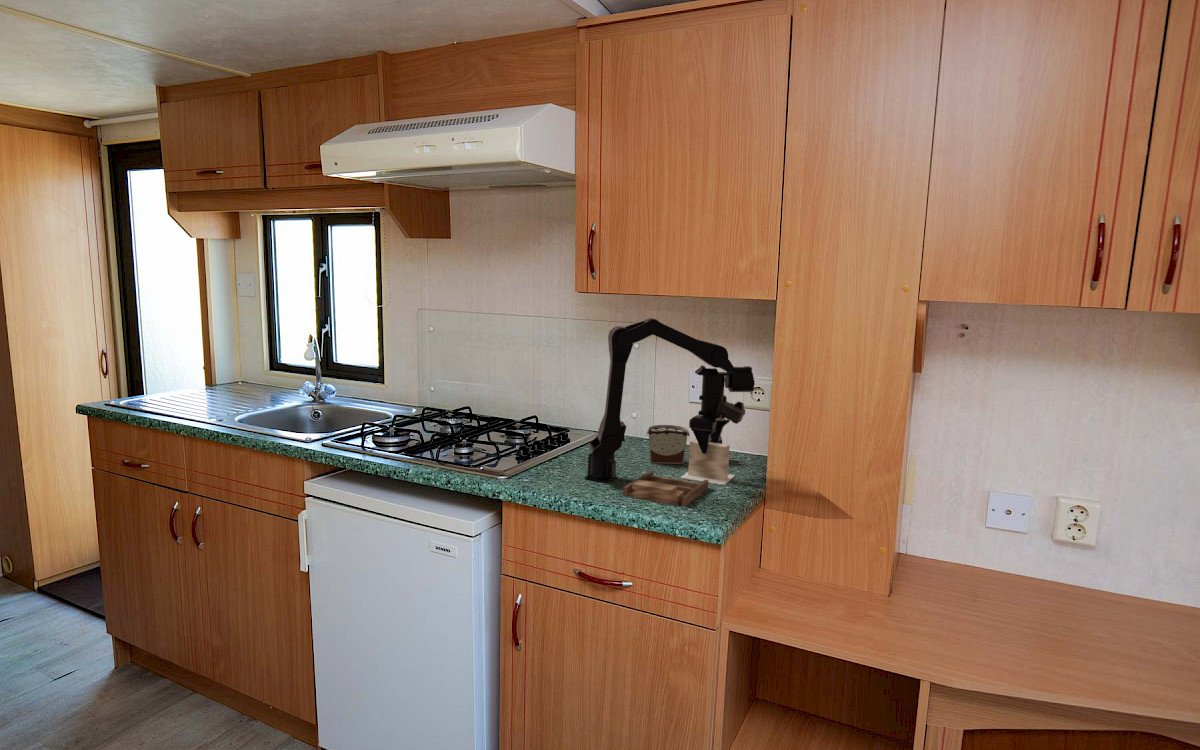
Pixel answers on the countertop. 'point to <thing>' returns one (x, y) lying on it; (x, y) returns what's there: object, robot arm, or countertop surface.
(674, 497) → the offcut stack
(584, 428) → the countertop surface
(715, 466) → the maple panel
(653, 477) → the rack
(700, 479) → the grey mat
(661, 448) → the food container
